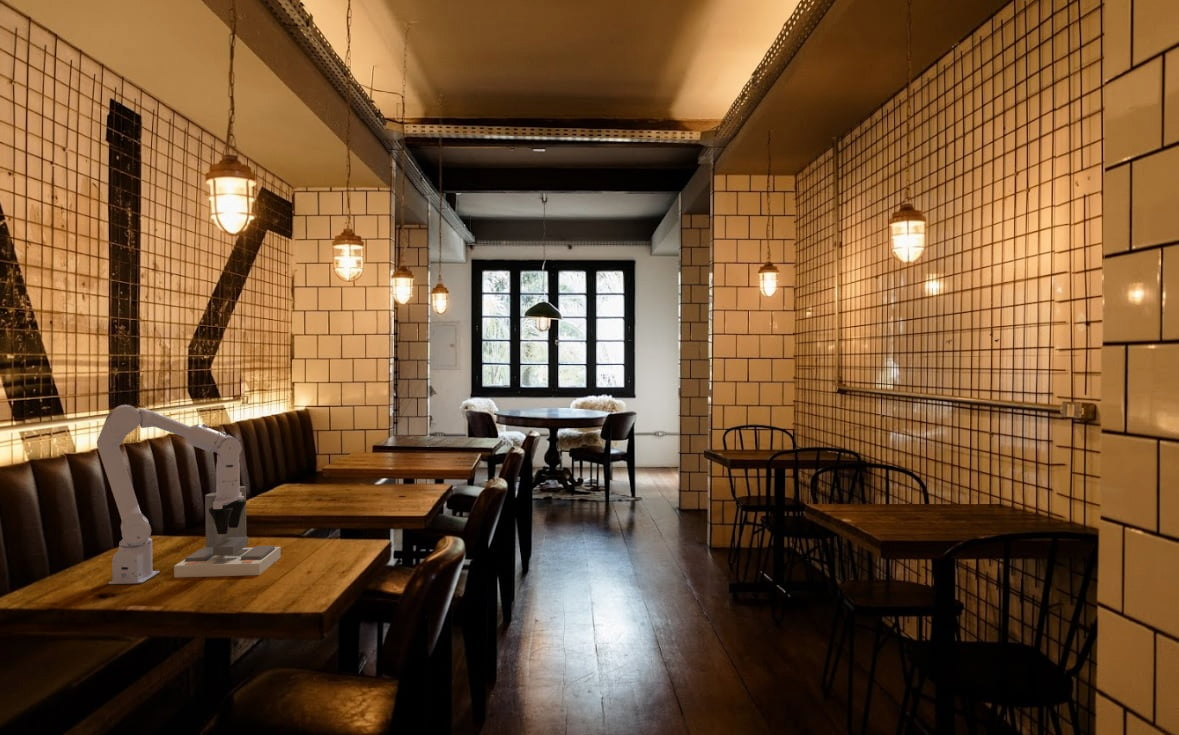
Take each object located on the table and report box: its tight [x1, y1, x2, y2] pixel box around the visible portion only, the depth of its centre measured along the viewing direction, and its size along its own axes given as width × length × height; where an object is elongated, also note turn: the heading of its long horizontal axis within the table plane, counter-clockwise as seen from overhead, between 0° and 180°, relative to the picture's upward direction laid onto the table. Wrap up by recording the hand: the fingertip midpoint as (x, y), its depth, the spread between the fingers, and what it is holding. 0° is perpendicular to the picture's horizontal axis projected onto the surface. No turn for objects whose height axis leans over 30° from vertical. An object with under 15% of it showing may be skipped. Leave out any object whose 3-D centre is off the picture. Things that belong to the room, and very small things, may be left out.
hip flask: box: [204, 485, 247, 547], centre depth 217 cm, size 16×4×20 cm, turn 170°
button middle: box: [213, 536, 249, 556], centre depth 201 cm, size 11×5×2 cm, turn 5°
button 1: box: [184, 546, 213, 562], centre depth 200 cm, size 11×5×2 cm, turn 5°
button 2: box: [241, 545, 275, 560], centre depth 202 cm, size 11×5×2 cm, turn 5°
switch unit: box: [173, 546, 282, 578], centre depth 200 cm, size 17×21×3 cm
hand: (228, 530), depth 202 cm, fingers open, 7 cm apart
